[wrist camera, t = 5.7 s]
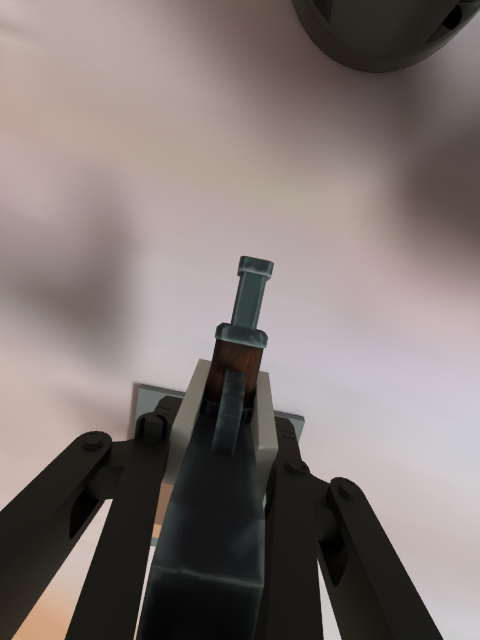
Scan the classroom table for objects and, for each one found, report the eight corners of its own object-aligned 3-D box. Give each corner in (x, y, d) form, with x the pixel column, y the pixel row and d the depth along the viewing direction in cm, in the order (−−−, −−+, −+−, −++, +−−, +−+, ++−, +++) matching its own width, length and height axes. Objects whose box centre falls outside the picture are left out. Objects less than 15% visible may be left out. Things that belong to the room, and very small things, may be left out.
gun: (468, 85, 3) (191, 1364, 3) (271, 276, 20) (226, 493, 20) (222, 30, 3) (-41, 1338, 3) (232, 268, 20) (187, 486, 20)
